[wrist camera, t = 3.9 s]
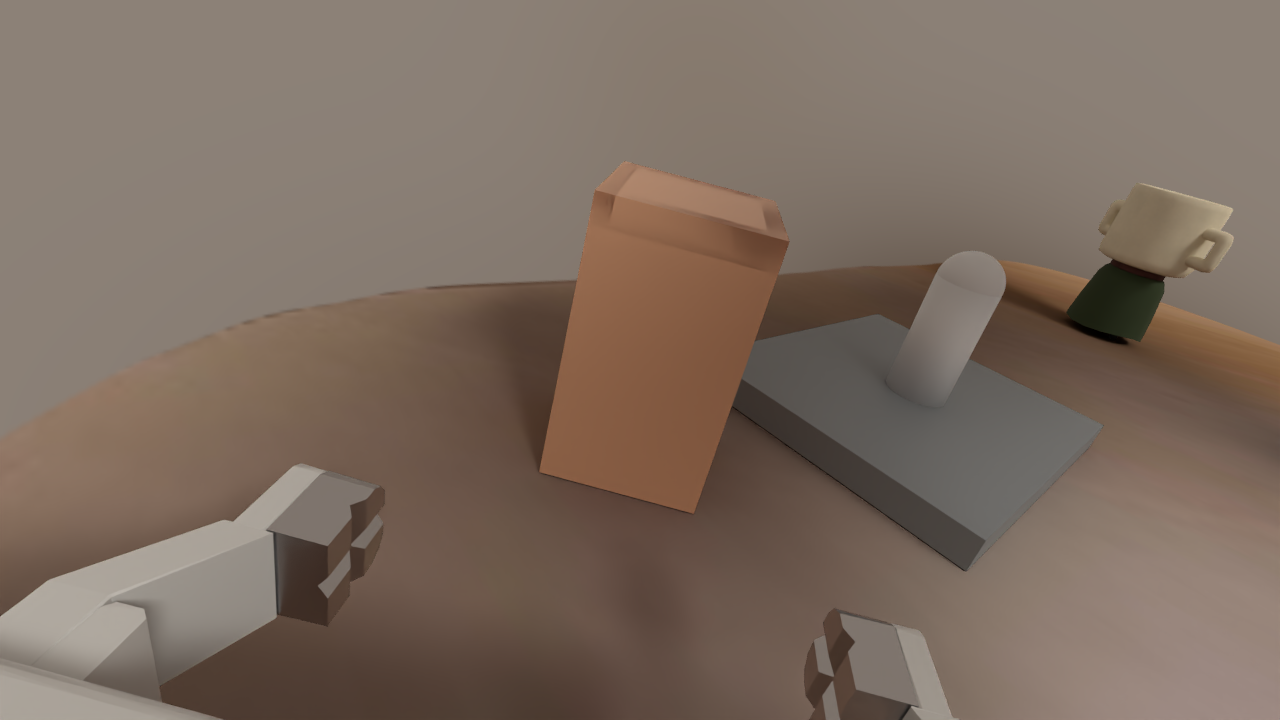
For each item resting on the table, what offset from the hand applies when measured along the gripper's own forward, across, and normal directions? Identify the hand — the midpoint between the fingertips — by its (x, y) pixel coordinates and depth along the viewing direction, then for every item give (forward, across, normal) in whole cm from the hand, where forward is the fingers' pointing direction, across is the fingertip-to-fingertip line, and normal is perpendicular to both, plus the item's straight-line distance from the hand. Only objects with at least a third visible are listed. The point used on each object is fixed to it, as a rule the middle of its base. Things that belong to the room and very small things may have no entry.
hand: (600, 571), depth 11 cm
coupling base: (+21, -14, +6) cm, 26 cm away
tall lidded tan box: (+12, 0, +6) cm, 13 cm away
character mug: (+50, -40, +6) cm, 64 cm away
